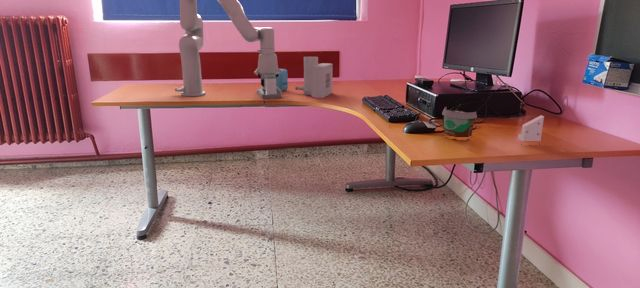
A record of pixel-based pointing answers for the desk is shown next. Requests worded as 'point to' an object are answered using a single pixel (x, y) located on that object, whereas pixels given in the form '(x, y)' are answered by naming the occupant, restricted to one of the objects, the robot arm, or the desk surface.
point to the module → (267, 76)
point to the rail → (264, 96)
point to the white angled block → (532, 130)
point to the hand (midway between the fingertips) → (268, 86)
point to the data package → (282, 80)
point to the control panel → (317, 78)
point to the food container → (458, 123)
